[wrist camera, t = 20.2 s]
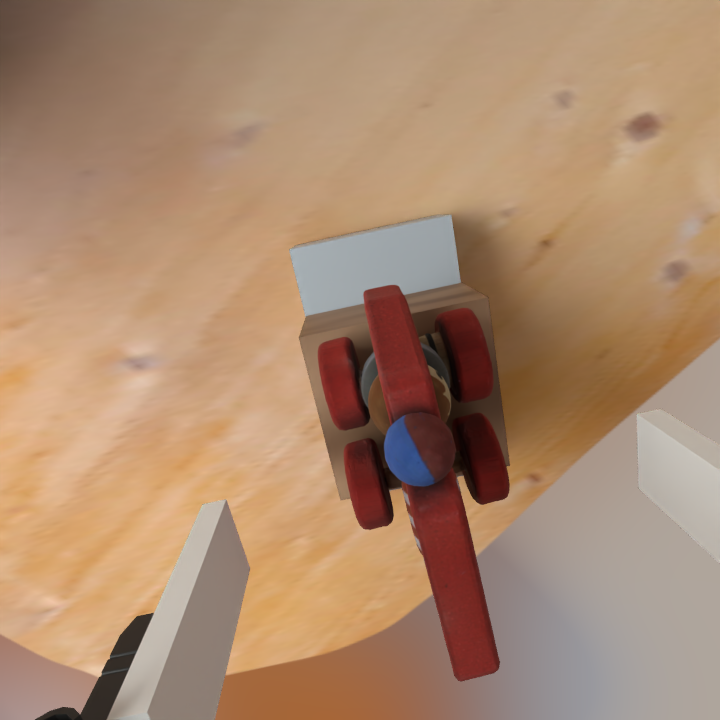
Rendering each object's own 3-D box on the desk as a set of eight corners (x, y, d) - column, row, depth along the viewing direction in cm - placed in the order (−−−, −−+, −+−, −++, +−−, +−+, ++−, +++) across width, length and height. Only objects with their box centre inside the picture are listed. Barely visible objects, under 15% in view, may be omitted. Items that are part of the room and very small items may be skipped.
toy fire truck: (454, 260, 21) (554, 299, 11) (494, 492, 25) (594, 675, 15) (305, 295, 22) (275, 364, 12) (366, 520, 25) (382, 719, 15)
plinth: (295, 245, 30) (289, 249, 26) (436, 214, 29) (451, 214, 26) (349, 466, 34) (350, 498, 31) (471, 442, 34) (487, 470, 30)
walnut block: (306, 315, 27) (298, 337, 22) (461, 282, 27) (488, 297, 22) (340, 454, 30) (340, 500, 25) (482, 424, 29) (509, 465, 25)
